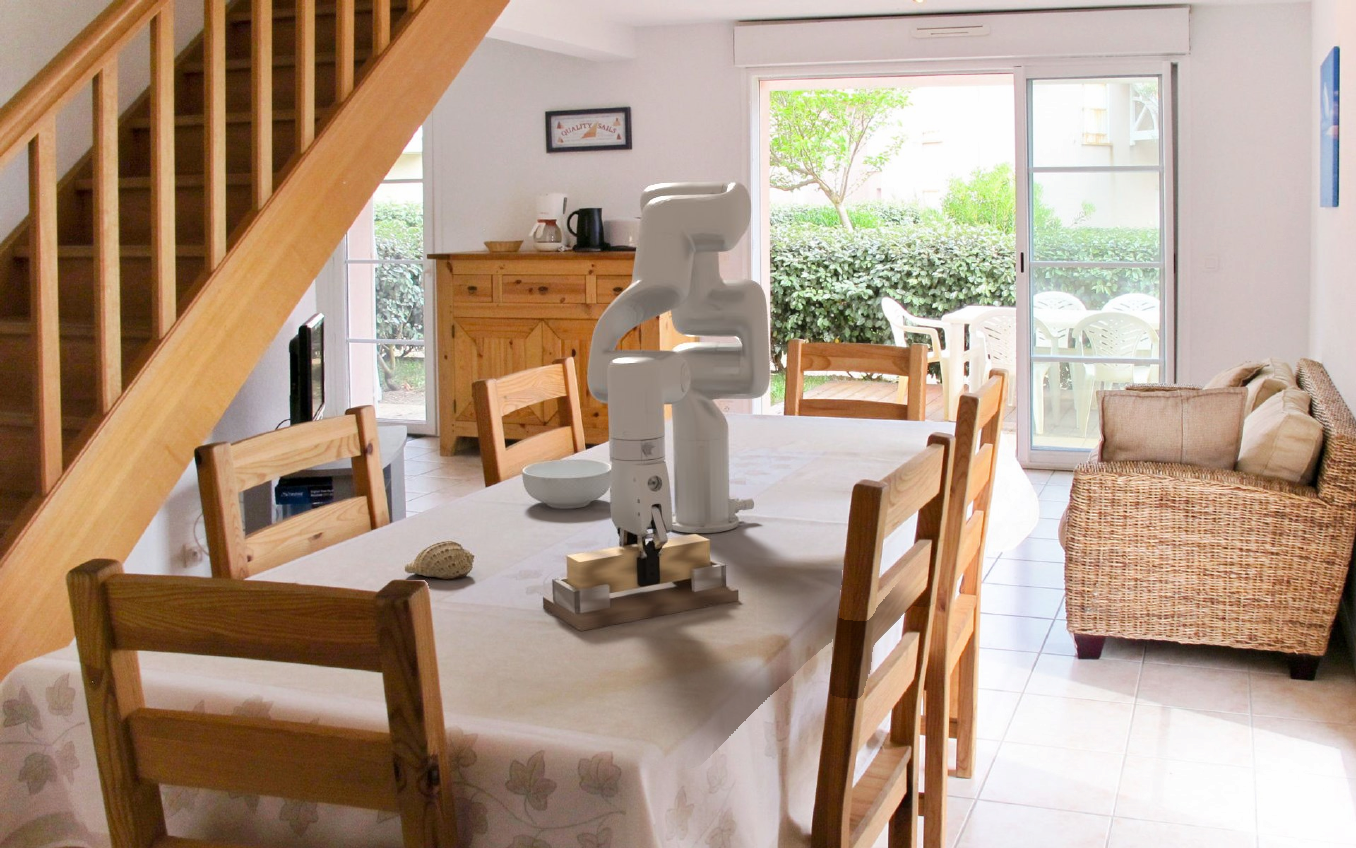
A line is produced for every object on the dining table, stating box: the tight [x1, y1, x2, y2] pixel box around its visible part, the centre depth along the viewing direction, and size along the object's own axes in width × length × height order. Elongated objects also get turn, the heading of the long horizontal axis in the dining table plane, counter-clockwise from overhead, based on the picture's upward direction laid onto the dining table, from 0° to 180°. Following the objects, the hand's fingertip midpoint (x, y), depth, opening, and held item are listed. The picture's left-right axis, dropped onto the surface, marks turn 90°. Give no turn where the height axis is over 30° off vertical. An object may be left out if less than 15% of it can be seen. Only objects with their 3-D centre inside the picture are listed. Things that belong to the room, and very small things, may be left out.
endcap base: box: [542, 557, 739, 632], centre depth 171 cm, size 24×12×4 cm, turn 119°
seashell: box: [404, 540, 475, 580], centre depth 187 cm, size 8×6×10 cm
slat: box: [566, 533, 711, 593], centre depth 170 cm, size 20×4×5 cm, turn 119°
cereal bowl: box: [521, 458, 612, 510], centre depth 234 cm, size 17×17×7 cm
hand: (640, 579), depth 171 cm, fingers closed on slat, 3 cm apart
